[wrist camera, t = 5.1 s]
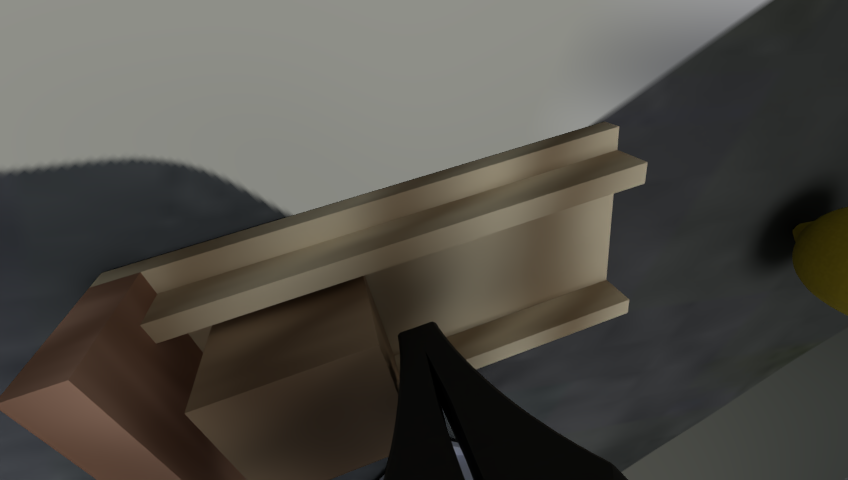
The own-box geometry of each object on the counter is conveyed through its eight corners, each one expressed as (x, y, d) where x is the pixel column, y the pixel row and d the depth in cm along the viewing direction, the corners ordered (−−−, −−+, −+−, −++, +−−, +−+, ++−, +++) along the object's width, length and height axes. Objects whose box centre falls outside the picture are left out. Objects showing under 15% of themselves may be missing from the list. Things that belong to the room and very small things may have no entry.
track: (604, 121, 14) (727, 162, 10) (593, 296, 19) (673, 372, 15) (101, 272, 12) (-7, 404, 8) (232, 427, 17) (208, 559, 13)
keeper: (360, 263, 13) (378, 344, 10) (394, 356, 16) (417, 445, 13) (216, 309, 13) (184, 413, 9) (277, 398, 15) (269, 503, 12)
